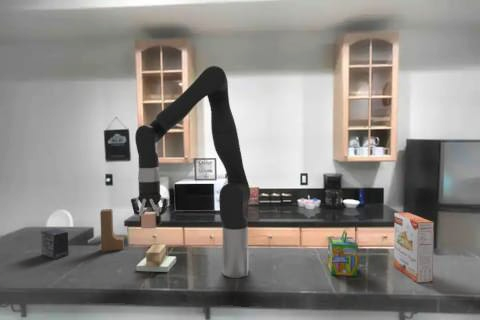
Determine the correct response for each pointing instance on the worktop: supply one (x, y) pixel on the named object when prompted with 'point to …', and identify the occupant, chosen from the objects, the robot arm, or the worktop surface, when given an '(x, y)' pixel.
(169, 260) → the pad
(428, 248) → the cracker box
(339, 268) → the chalk box
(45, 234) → the small box
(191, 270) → the worktop surface
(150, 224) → the cube
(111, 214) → the wooden block
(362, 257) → the worktop surface
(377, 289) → the worktop surface
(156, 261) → the tan rectangular block
